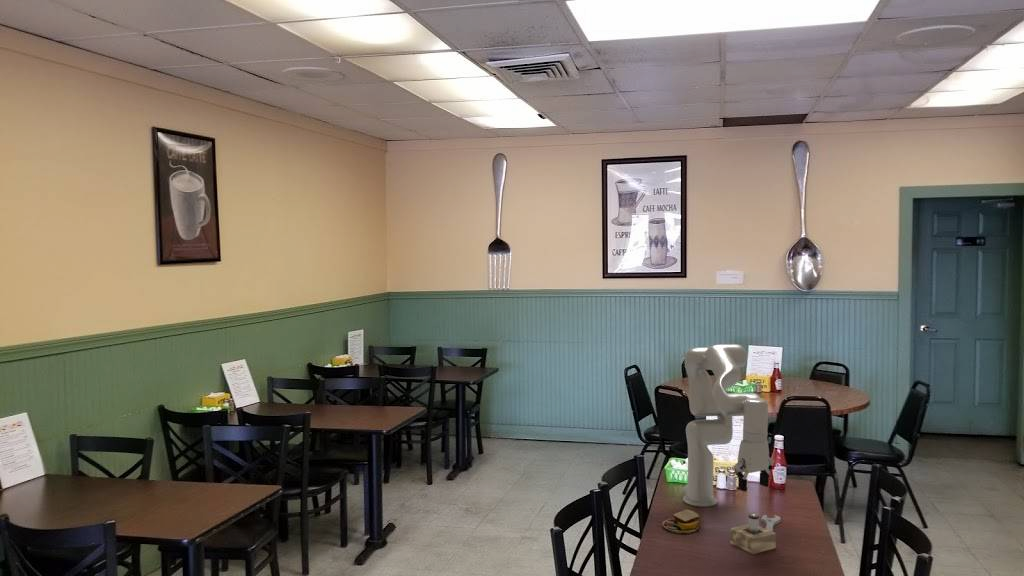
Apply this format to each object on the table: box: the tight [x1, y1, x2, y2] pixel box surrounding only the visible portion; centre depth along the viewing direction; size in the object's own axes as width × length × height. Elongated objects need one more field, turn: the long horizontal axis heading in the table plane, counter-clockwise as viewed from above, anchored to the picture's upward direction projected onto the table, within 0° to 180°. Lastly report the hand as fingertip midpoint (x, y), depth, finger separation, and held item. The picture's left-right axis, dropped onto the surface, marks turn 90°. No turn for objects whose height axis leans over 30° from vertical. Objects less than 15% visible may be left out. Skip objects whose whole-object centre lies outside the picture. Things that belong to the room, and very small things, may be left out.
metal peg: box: [747, 512, 760, 535], centre depth 248 cm, size 3×3×10 cm
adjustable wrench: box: [760, 514, 782, 532], centre depth 263 cm, size 25×6×2 cm, turn 153°
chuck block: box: [729, 524, 777, 555], centre depth 248 cm, size 10×10×5 cm
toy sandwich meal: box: [661, 509, 701, 534], centre depth 265 cm, size 12×14×5 cm
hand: (753, 487), depth 248 cm, fingers open, 9 cm apart
